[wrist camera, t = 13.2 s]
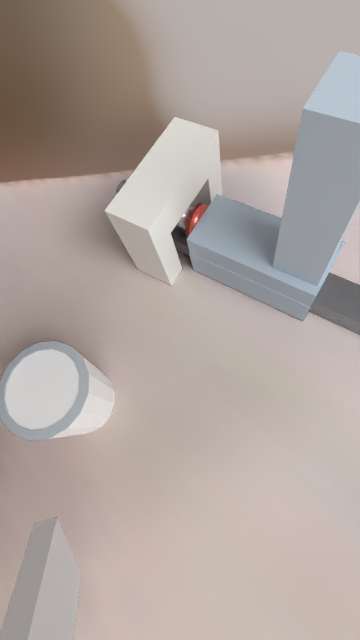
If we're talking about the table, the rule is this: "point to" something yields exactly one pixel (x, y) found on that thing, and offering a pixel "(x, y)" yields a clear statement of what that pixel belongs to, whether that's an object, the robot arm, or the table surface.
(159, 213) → the arch
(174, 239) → the rail
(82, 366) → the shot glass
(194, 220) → the plunger
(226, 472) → the table surface
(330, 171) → the carriage
